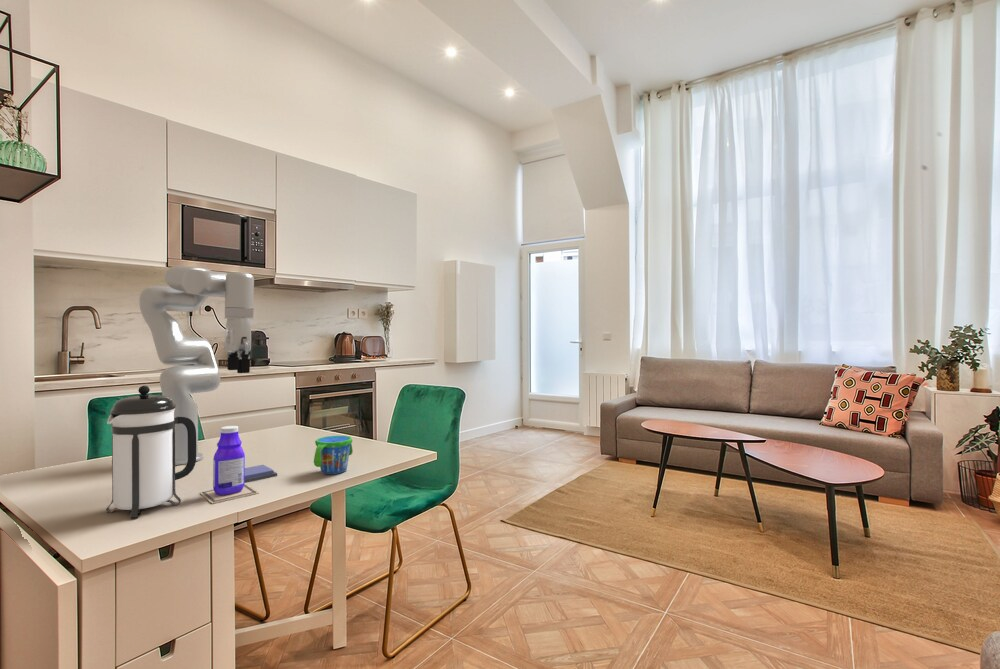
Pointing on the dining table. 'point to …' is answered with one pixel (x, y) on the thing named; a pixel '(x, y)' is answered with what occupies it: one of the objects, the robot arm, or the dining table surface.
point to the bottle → (228, 463)
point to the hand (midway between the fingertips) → (238, 371)
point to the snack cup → (333, 453)
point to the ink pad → (258, 473)
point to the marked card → (216, 498)
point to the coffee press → (146, 451)
